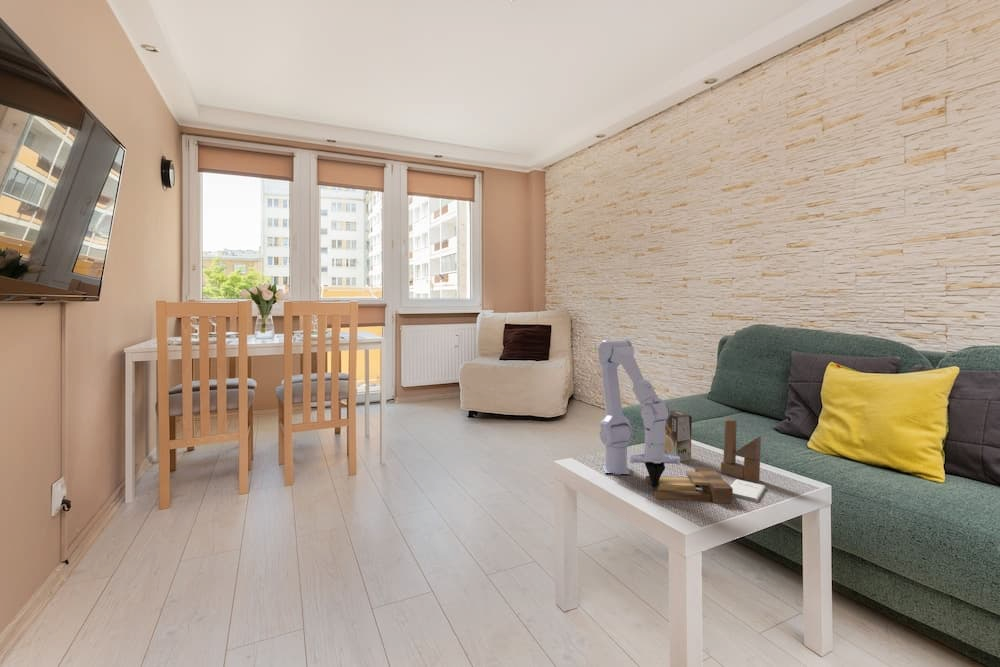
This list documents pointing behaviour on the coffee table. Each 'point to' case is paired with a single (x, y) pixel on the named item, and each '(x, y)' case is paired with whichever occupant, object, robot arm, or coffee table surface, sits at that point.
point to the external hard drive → (747, 490)
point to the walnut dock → (707, 480)
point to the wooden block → (748, 452)
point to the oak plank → (675, 484)
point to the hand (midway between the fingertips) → (654, 486)
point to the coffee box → (678, 435)
